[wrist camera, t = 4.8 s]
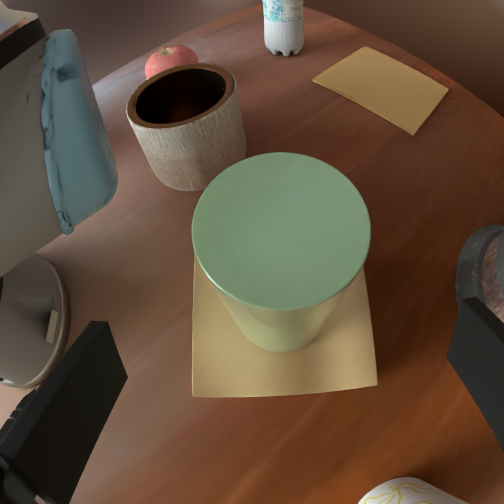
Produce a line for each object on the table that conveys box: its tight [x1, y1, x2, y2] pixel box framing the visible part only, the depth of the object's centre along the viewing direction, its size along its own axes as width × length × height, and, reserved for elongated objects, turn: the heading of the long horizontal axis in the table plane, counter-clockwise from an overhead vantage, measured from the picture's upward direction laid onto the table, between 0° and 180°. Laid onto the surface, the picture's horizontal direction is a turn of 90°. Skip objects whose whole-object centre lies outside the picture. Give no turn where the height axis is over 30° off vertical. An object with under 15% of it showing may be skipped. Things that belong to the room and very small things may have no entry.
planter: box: [126, 63, 246, 192], centre depth 31 cm, size 11×11×10 cm
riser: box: [192, 254, 378, 397], centre depth 24 cm, size 12×12×6 cm
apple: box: [145, 45, 198, 79], centre depth 38 cm, size 7×7×8 cm
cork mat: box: [312, 46, 449, 136], centre depth 39 cm, size 16×16×1 cm
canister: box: [192, 152, 371, 352], centre depth 16 cm, size 6×6×11 cm
